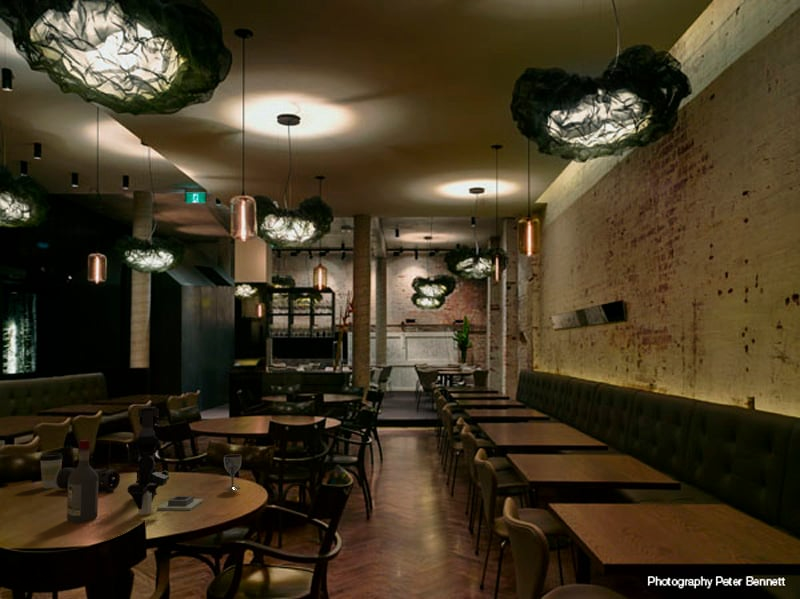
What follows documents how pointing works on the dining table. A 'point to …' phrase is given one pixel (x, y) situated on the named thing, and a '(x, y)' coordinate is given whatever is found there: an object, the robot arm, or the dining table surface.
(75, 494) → the liquor
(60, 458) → the coffee cup
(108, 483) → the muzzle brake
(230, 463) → the wine glass
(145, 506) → the connector plug
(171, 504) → the end holder
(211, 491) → the dining table surface
